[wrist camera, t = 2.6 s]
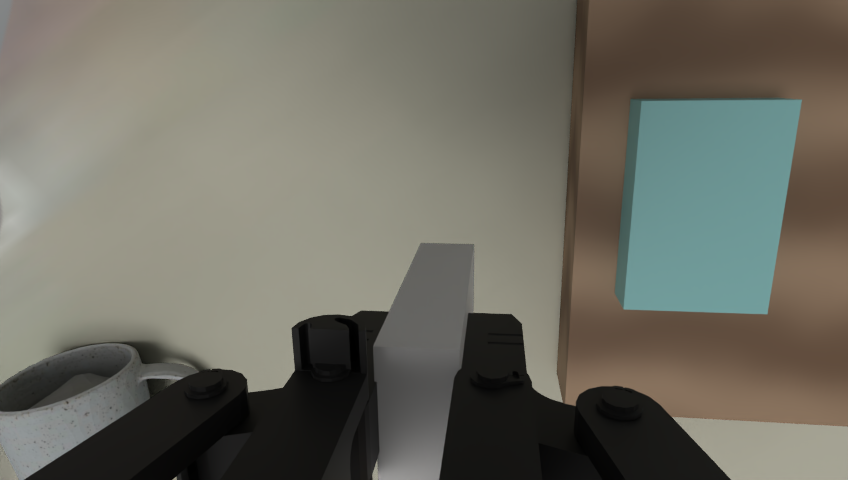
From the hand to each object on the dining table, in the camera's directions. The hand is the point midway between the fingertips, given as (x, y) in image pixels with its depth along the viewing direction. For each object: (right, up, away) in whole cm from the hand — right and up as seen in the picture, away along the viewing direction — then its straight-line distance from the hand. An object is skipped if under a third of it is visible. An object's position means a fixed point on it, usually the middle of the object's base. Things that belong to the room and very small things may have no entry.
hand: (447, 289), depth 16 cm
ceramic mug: (-19, -8, +21) cm, 30 cm away
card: (+11, +3, +10) cm, 15 cm away
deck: (+14, +4, +13) cm, 20 cm away
